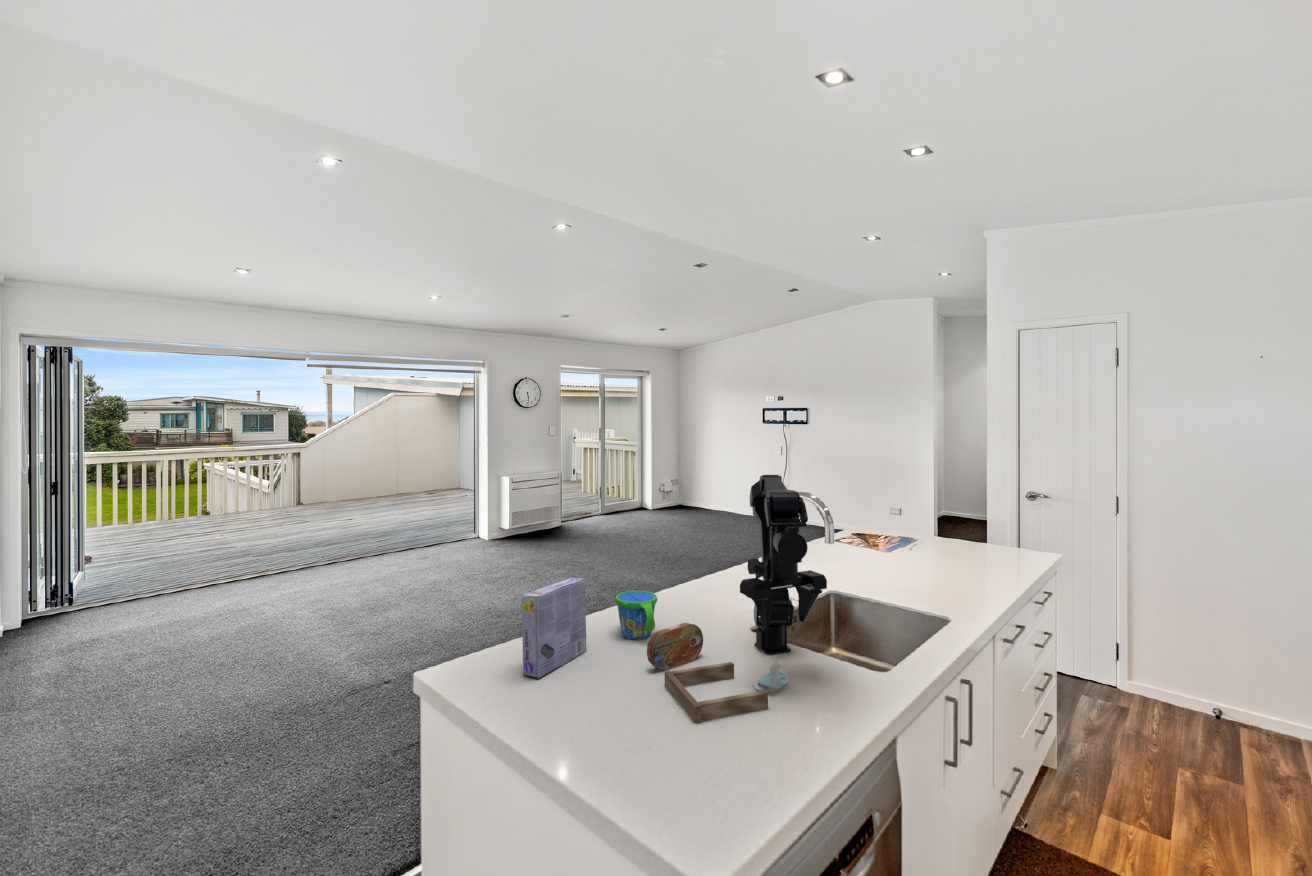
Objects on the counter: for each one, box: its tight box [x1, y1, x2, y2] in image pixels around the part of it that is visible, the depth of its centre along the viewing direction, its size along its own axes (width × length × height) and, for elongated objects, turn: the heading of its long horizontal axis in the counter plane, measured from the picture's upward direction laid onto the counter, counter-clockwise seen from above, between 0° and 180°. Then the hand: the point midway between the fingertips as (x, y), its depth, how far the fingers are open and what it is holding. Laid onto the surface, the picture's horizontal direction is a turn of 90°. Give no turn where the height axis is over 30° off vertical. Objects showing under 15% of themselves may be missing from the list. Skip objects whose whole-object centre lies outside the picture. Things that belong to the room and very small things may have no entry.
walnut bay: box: [663, 661, 769, 724], centre depth 115 cm, size 15×16×3 cm
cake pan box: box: [521, 577, 587, 679], centre depth 133 cm, size 19×5×18 cm, turn 152°
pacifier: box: [753, 658, 788, 693], centre depth 119 cm, size 7×6×6 cm
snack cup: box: [614, 590, 658, 640], centre depth 150 cm, size 16×10×10 cm
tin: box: [646, 622, 704, 671], centre depth 132 cm, size 15×3×8 cm, turn 128°
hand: (784, 624), depth 123 cm, fingers open, 9 cm apart
